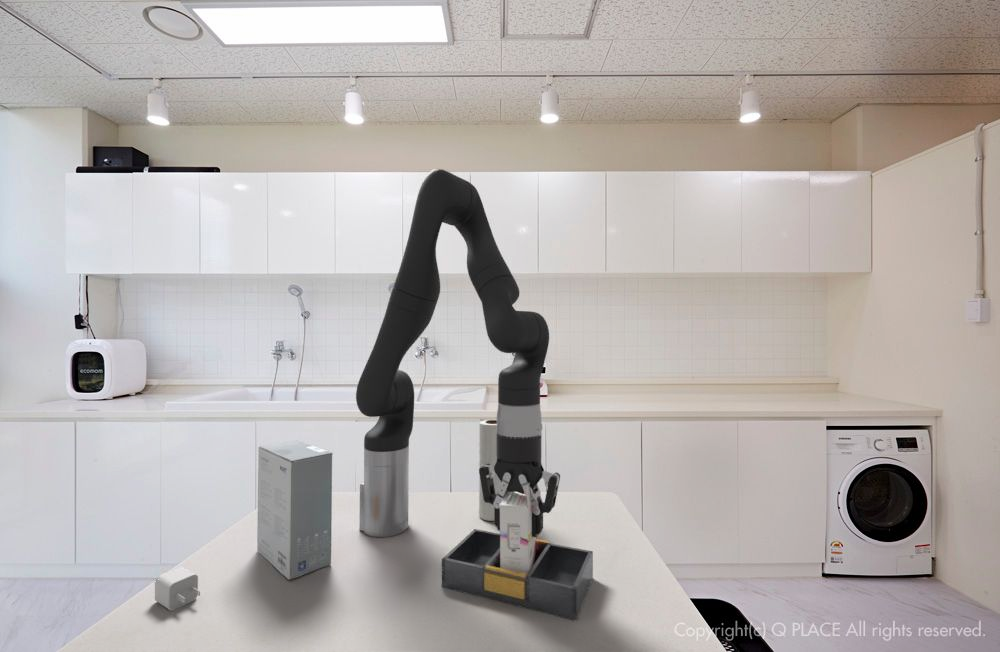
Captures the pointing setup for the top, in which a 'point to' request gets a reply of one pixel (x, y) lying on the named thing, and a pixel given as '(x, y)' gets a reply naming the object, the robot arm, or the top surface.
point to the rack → (521, 575)
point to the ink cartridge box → (516, 532)
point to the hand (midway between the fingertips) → (518, 531)
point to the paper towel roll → (487, 457)
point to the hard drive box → (294, 507)
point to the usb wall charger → (176, 588)
